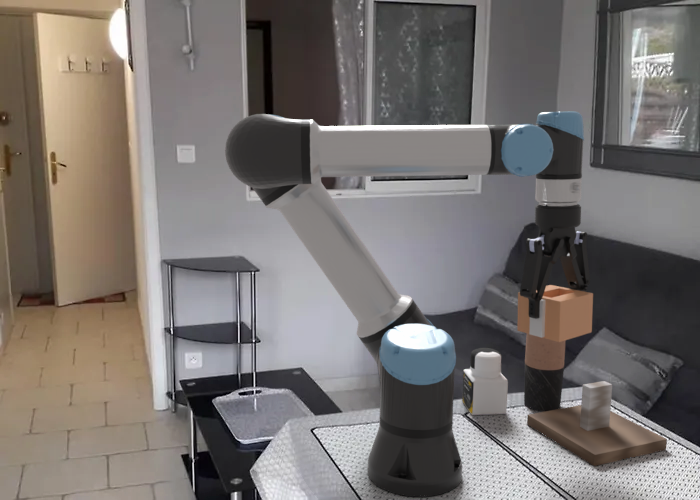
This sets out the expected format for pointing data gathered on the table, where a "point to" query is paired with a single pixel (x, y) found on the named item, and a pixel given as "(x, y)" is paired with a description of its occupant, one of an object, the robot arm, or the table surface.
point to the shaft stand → (596, 429)
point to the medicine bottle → (485, 383)
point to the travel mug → (543, 373)
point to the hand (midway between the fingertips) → (554, 330)
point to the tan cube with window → (560, 313)
